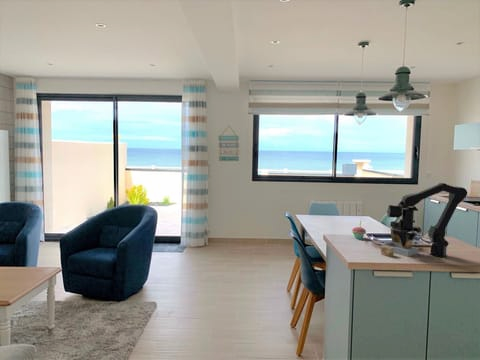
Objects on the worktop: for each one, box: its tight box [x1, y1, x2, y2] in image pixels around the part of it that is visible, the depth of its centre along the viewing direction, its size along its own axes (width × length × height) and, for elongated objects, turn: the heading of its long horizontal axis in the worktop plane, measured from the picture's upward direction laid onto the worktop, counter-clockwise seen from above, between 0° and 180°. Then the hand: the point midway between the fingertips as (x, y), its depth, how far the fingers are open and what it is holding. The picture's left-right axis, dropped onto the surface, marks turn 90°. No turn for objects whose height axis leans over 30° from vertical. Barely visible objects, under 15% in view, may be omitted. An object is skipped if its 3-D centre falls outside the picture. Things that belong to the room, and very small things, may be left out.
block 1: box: [380, 246, 395, 258], centre depth 180 cm, size 4×4×4 cm
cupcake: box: [351, 220, 367, 240], centre depth 216 cm, size 9×8×12 cm
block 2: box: [400, 239, 413, 249], centre depth 185 cm, size 4×4×4 cm
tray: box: [380, 241, 420, 257], centre depth 188 cm, size 16×11×3 cm
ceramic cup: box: [390, 227, 400, 243], centre depth 202 cm, size 13×10×10 cm
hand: (405, 245), depth 185 cm, fingers closed on block 2, 4 cm apart
